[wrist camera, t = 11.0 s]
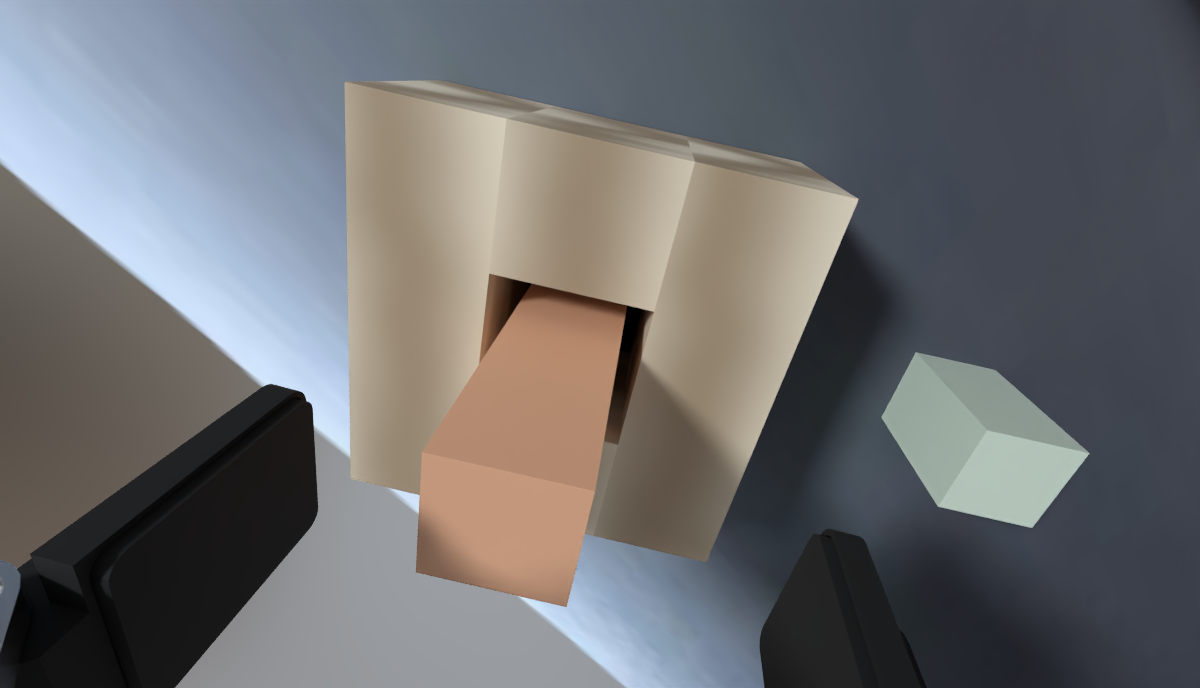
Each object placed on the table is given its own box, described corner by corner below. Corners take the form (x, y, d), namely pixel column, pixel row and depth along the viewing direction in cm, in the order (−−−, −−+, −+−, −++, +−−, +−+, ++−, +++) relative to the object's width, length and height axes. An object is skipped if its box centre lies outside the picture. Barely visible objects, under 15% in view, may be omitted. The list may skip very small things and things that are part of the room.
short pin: (995, 369, 20) (1089, 453, 16) (955, 434, 21) (1032, 528, 17) (915, 352, 20) (987, 430, 16) (881, 417, 21) (938, 506, 17)
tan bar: (633, 267, 20) (595, 491, 9) (617, 338, 21) (566, 606, 10) (554, 249, 20) (422, 451, 9) (542, 322, 21) (416, 571, 10)
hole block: (800, 162, 18) (858, 199, 12) (697, 449, 23) (706, 562, 18) (441, 80, 18) (344, 81, 12) (423, 385, 23) (351, 478, 18)
